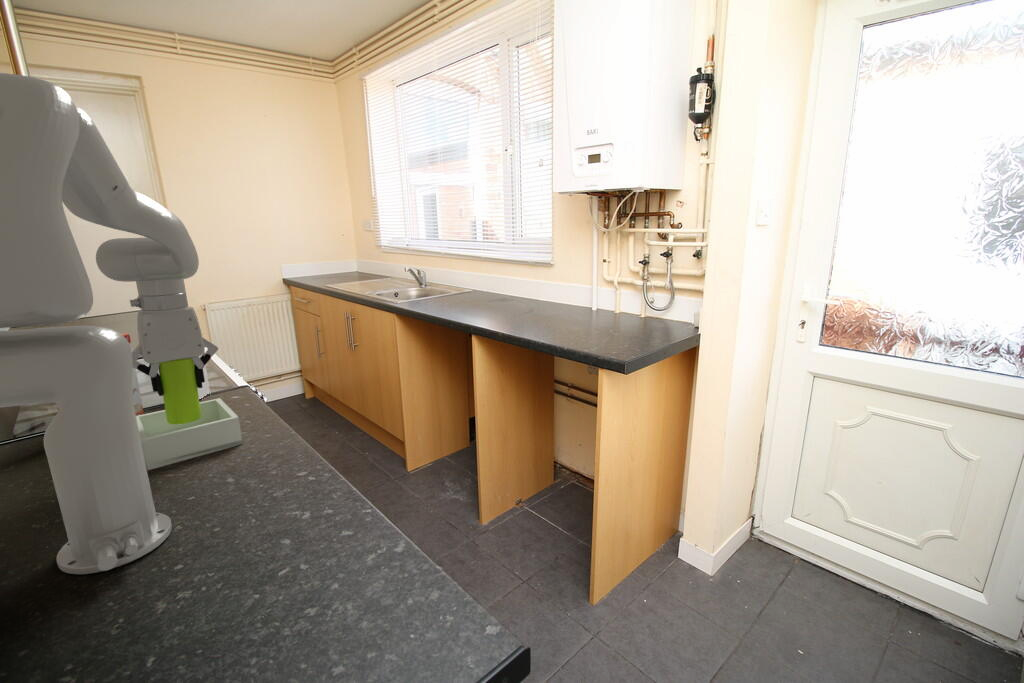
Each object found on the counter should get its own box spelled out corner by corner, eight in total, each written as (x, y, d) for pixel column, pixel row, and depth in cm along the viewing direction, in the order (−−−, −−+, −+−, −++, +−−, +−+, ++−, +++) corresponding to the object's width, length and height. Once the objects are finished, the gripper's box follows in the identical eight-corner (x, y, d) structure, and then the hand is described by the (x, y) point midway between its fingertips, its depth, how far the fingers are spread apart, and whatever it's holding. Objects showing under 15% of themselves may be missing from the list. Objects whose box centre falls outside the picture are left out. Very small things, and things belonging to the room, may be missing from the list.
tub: (242, 444, 99) (238, 417, 98) (147, 470, 89) (141, 440, 87) (223, 422, 111) (219, 398, 109) (137, 443, 100) (132, 416, 99)
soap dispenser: (212, 415, 100) (199, 322, 96) (175, 426, 94) (159, 328, 90) (198, 410, 103) (185, 319, 99) (161, 420, 97) (146, 324, 93)
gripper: (108, 310, 84) (129, 406, 89) (219, 300, 96) (232, 385, 100) (105, 305, 90) (124, 396, 94) (210, 296, 101) (223, 377, 105)
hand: (180, 389), depth 97 cm, fingers closed on soap dispenser, 5 cm apart
